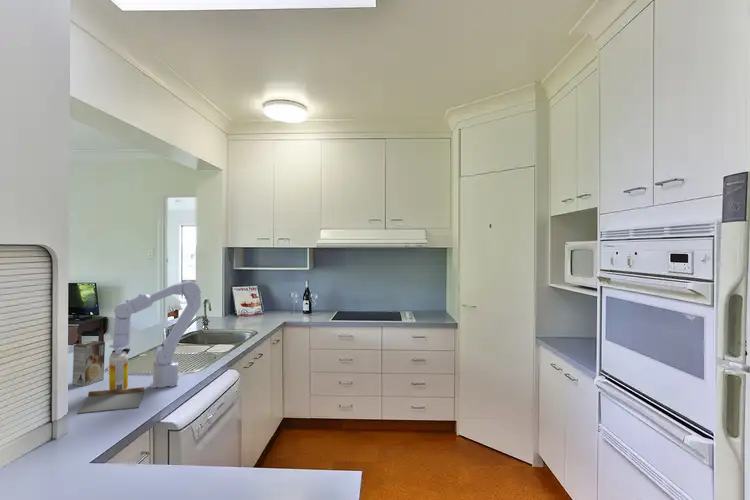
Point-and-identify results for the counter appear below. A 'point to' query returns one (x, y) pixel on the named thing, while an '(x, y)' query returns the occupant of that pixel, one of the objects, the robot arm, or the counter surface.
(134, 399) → the mat
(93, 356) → the coffee box
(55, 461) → the counter surface
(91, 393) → the bar
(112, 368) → the beer can
